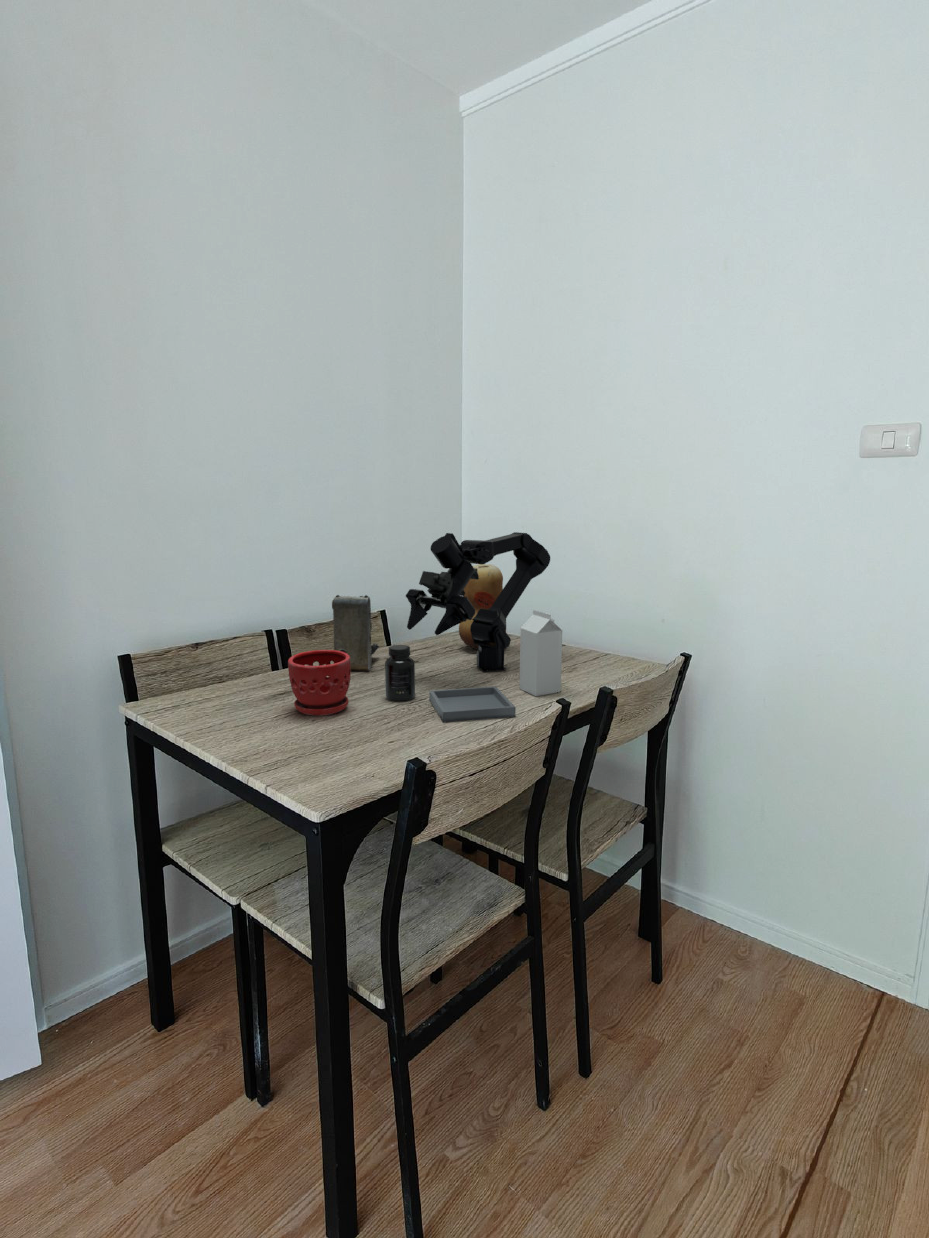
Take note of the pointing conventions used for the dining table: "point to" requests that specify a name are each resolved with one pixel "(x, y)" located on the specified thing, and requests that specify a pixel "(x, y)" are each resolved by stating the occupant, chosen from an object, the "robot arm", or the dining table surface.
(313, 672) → the plant pot
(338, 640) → the vintage camera
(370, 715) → the dining table surface
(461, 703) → the charcoal tray
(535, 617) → the milk carton
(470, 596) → the butternut squash
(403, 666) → the supplement bottle
